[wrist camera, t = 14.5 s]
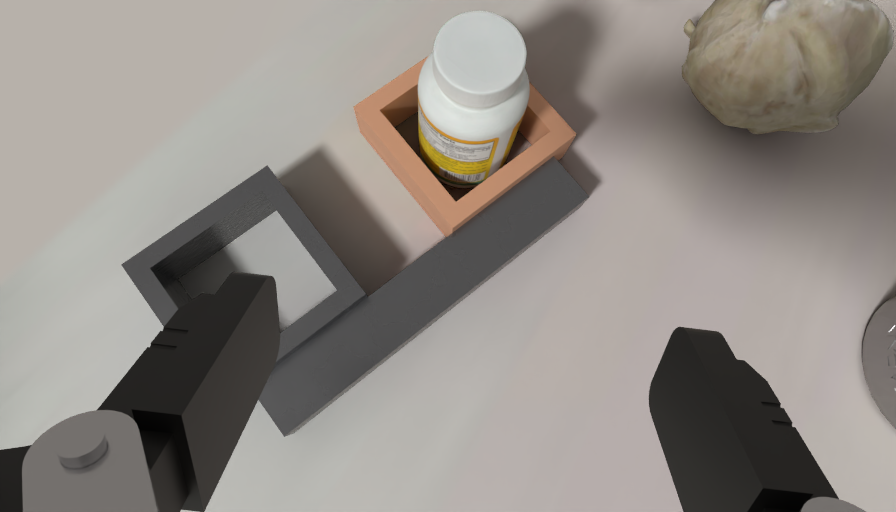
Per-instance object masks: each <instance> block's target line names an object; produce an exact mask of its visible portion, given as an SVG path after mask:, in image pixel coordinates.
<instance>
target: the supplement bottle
mask: <svg viewBox="0 0 896 512" xmlns="http://www.w3.org/2000/svg"><path fill="white" fill-rule="evenodd" d="M526 56H527V51H526V46H525V42H524V39H523V37H522V35H521V34H520V32H519V31H518V29H517V28H516V27H515V26H514V25H513V24H512V23H511V22H510V21H508V20H507V19H505V18H504V17H502V16H500V15H498V14H495V13H492V12H487V11H469V12H464V13H461V14H459V15H457V16H455V17H453V18H451V19H450V20H449V21H447V22H446V23H445V24H444V25H443V26H442V28H441V29H440V31H439V32H438V34H437V36H436V39H435V42H434V47H433V52H432V53H431V54H430V55H429V56H428V58H427V59H426V61H425V62H424V64H423V66H422V69H421V72H420V75H419V80H418V125H419V151H420V156H421V159H422V161H423V163H424V164H425V165H426V167H427V168H428V169H429V170H430V171H431V173H432V174H433V175H434V176H435V177H436V179H438V180H439V181H441V182H443V183H445V184H447V185H450V186H453V187H458V188H472V187H477V186H478V185H479V184H481V183H482V182H483V181H485V180H486V179H487V178H489V177H490V176H491V175H493V174H494V173H495V172H497V171H498V170H499V169H501V168H502V167H503V166H504V164H505V162H506V160H507V158H508V155H509V152H510V150H511V147H512V144H513V142H514V139H515V136H516V134H517V131H518V128H519V126H520V123H521V121H522V118H523V116H524V113H525V111H526V107H527V104H528V100H529V92H530V87H529V79H528V75H527V72H526V69H525V64H526Z"/></svg>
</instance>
